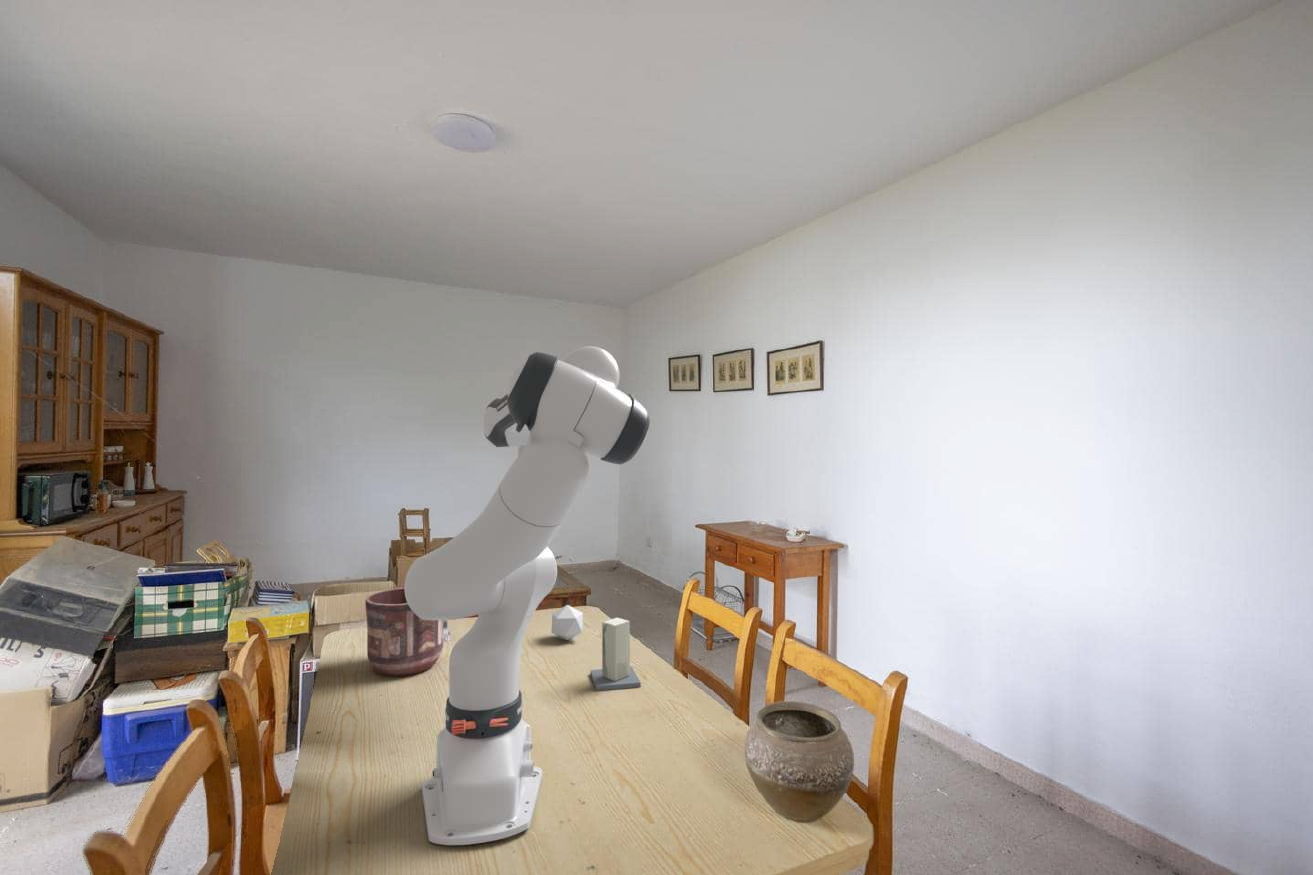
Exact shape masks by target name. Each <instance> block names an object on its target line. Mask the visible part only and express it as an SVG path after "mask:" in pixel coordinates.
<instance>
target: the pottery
mask: <svg viewBox="0 0 1313 875" xmlns="http://www.w3.org/2000/svg"><path fill="white" fill-rule="evenodd" d="M365 613H366V629H367V633H366V634H367V637H366V638H367V640H366V641H367V642H366V644H367V647H366V652H367V653H366V654H367V658H368V661H369V663H370V666H371V668H372V669H373V671H374V672H375V673H377V674H379V675H380V676H381V675H382V676H383V677H392V678H395V677H396V678H397V677H399V678H401V677H411V676H414V675H415V676H416V675H419V674H421V673H424V672H426V671H428V670H431V668H432V667H433V666H434V665H435V664H436V663H437V661H438V660H439V658H440V657H441V655H442V652H443V650H444V642H443V621H444V620H423V619H421V618H419V617H418V616H417V615H416V614H415V613H414V612H413V611H412V610H411V608H410V607H409V605H408V603H407V601H406V597H405V591H404V587H399V588H392V589H391V588H390V589H387V590H383V591H378V592H375V593H373V594H371V595H369V596H367V597H366V599H365Z"/></svg>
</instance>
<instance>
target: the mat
mask: <svg viewBox="0 0 1313 875" xmlns="http://www.w3.org/2000/svg"><path fill="white" fill-rule="evenodd" d="M590 676H591V679H592V683H593V685H594V688H595V690H596V692H599V691H600V692H601V691H610V690H611V691H612V690H622V689H623V690H624V689H634V688H641V681H640V680H641V679H639V677H638V675H637V673H636V672H635V670H634V668H633V667H632V666H630V675H628V676H626V677H624V678H621V679H619V680H617V681H613V680H610V679H608V678H605V677H603V676H602V668H599V669H590Z"/></svg>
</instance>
